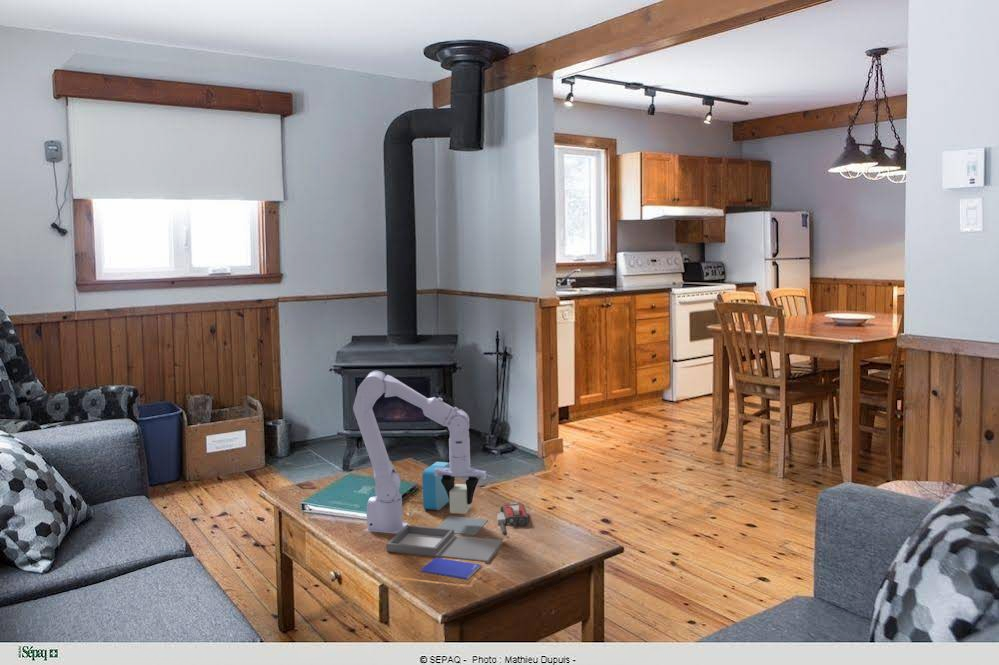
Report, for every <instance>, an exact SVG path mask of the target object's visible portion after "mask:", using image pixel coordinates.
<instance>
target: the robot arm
mask: <svg viewBox="0 0 999 665" xmlns="http://www.w3.org/2000/svg"><path fill="white" fill-rule="evenodd" d="M382 395H384V398H391V397H398V398H400V399H401V400H404V401H405V402H407V403H409V404H412V405H413V406H416V407H418V408H420V409H421V410H422V413H423V416H425V417H427V418H428V419H429V420H432V421H434V422H435V423H437V424H439V425H441V426H443V427H447V430H448V431H449V438H448V449H449V451H448V453H449V456H448V457H449V463H450V468H436V469H435V470H434V474H435V476H442V479H441V483H442V484H443V486H444V488H445V490H446V492H447V495H448V498H449V492H450V490H451V489H452V488H453V487H454V486H455V480H456V479H455V478H466V480H465V484H466V487H467V502H468V504H471V503H472V504H473V498H474V494H475V490H476V488H477V485H478V483H479V481H480V480H482V481H484V480H485V479H486V478H487V470H480V469H476V468H471V450H470V449H471V444H470V443H471V442H470V440H471V439H470V431H469V429H470V427H471V426H470V417H469V414H468V413H467V412H466V411H464V410H463V409H460V408H458V407H457V406H454V407H453V406H451V405H450V404H448V403H446V402H444V401H443V400H444V399H443V398H442V397H435V396H433V397H426V396H425V395H423V394H421V393H419V392H418V391H417V390H415V389H413V388H412V387H410V386H408V385H407V384H405V383H403V382H402V381H400V380H399V379H397V378H395V377H394V376H392V375H390V374H387V375H386V374H385V372H383V371H380V370H373V371H370V372H369V373H368V374H367V375H366V377H365V378H364V379H363V380H362V382H360V384H359V386H358V387H357V390H356V395H355V399H354V403H353V406H352V410H353V414H354V416H355V419H356V422H357V425H358V428H359V431H360V434H361V436H362V439H363V442H364V445H365V448H366V452H367V454H368V458H369V460H370V463H371V466H372V470H373V479H374V483H375V488H374V493H375V496H371V497H369V499H368V500H367V504H366V527H367V528H366V529H365V531H366V532H373V533H374V532H375V533H383V534H384V533H385V534H395V535H397V534H398V533H399V532H400V531H401V530H402V529H403V528H404V527H405V526H407V525H409V523H408V522H403V520H404V519H403V497H402V496H403V495H402V493H401V492H400V490H399V489H400V487H401V485H402V476H401V474H399V472H397V470H396V469H395V466H394V464H393V463H392V462H391V460H390V458H389V457H390V456H389V455H388V452H387V449H386V446H385V442H384V440H383V437H382V434H381V431H380V428H379V425H378V422H377V419H376V416H375V413H374V410H373V408H374V405H375V403H376V402H377V400H378V399H380V397H382ZM448 503H450V498H449V502H448Z"/></svg>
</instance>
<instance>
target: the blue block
mask: <svg viewBox="0 0 999 665" xmlns="http://www.w3.org/2000/svg"><path fill="white" fill-rule="evenodd" d="M436 468H450V462H445V461H435V462H434V463H433V464H431V465H430V466H428V467H427V468H426V469H424V470H423V472H422V477H421V478H422V479H421V480H422V507H423V509H425V510H429V511H430V510H431V511H440V510H441V509H442V508H444V506H445V505H447V504H449V503H450V502H449V498H448V495H447V492H446V490H445V488H444V486H443V484H442V483H441V479H442V476H435V474H434V470H435V469H436Z"/></svg>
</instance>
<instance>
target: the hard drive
mask: <svg viewBox="0 0 999 665" xmlns="http://www.w3.org/2000/svg"><path fill="white" fill-rule="evenodd" d="M481 567H482V564H477V563H473V562H466V561H459V560H454V559H449V558H442V557H434V558H433V559H432V560H431V561H430V562H428V563H427V564H426V565H425V566H423V568H421V570H420V572H421V573H426V574H433V575H437V576H443V577H450V578H456V579H460V580H461V579H462V580H468V579H470V577H471V576H473V575H474V574H475V572H477V571H478V570H479V569H480V568H481Z"/></svg>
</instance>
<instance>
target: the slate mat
mask: <svg viewBox="0 0 999 665" xmlns="http://www.w3.org/2000/svg"><path fill="white" fill-rule="evenodd" d="M487 522H489V519H488V518H487V519H486V518H477V517H476V518H475V517H465V516H454V515H453V516H452V515H448V516H447V517H446V518H445V519H444V520H443V521H442V522H441V523H440V524H439V525H438V526H437V527H436V528H445V529H454V535H455V534H457V535H466V536H468V535H469V536H476V535H477V534H478V533H479V531H481V529H483V527H484V526H485V525H486V523H487Z"/></svg>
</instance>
